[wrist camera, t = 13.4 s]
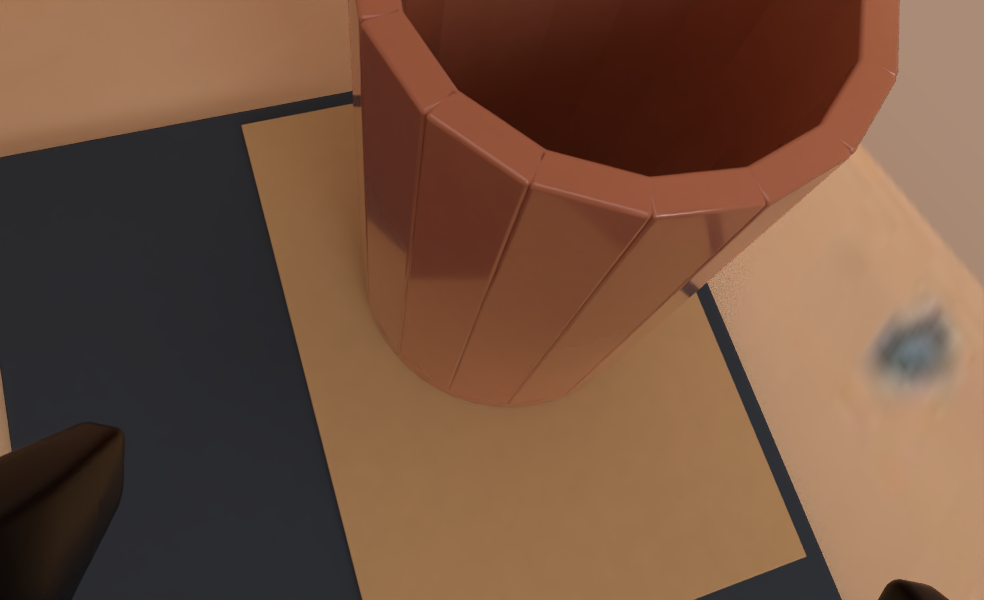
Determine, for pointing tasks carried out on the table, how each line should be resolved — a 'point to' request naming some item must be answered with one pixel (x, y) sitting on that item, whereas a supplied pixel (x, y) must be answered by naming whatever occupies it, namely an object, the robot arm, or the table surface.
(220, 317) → the desk mat
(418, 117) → the cup
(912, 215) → the table surface
